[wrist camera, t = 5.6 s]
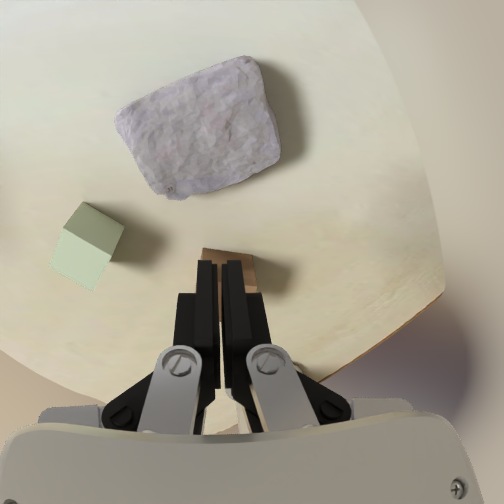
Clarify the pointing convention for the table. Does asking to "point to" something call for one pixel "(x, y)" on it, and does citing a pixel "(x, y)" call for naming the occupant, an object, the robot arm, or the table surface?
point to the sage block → (86, 246)
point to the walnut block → (221, 258)
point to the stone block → (202, 130)
